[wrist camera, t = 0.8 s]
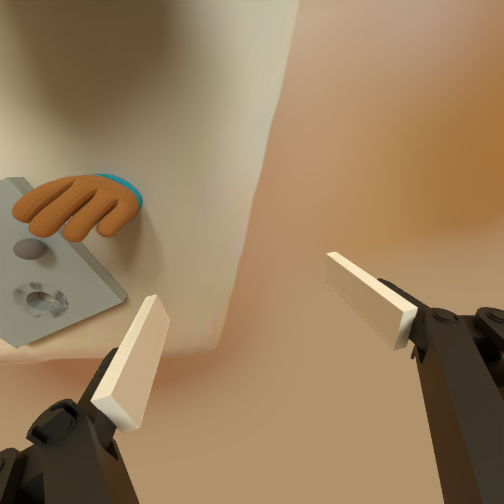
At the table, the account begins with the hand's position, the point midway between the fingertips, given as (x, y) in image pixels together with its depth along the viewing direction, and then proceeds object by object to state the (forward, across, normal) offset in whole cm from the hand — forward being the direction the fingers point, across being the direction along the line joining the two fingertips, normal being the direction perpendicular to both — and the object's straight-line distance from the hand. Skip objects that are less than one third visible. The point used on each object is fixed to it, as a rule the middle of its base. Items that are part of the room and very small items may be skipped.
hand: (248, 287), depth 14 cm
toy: (+26, -19, +8) cm, 34 cm away
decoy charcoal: (+22, -32, +2) cm, 39 cm away
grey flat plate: (+26, -40, -3) cm, 48 cm away
